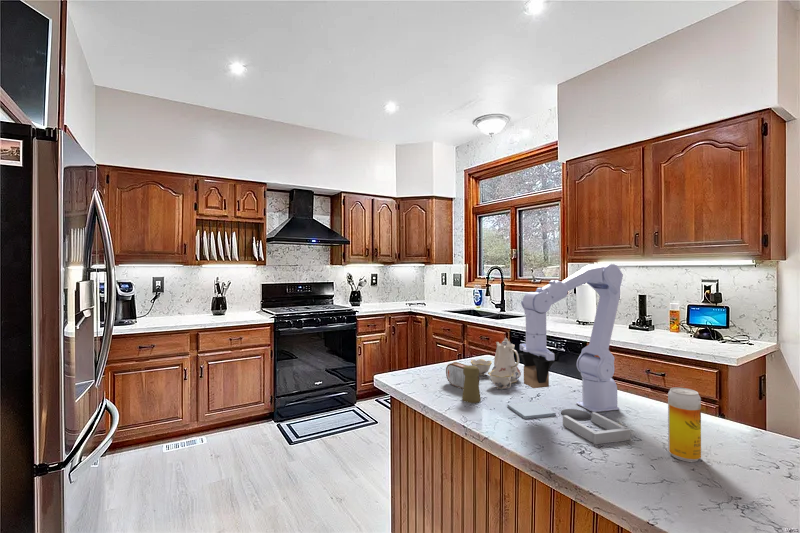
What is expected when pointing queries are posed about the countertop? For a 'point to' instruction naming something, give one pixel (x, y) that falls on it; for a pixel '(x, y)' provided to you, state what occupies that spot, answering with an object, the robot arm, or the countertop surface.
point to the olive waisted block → (471, 385)
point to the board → (531, 410)
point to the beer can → (684, 424)
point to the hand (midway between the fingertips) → (536, 379)
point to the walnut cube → (533, 377)
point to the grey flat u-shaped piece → (610, 435)
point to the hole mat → (576, 414)
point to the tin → (456, 374)
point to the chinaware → (501, 365)
